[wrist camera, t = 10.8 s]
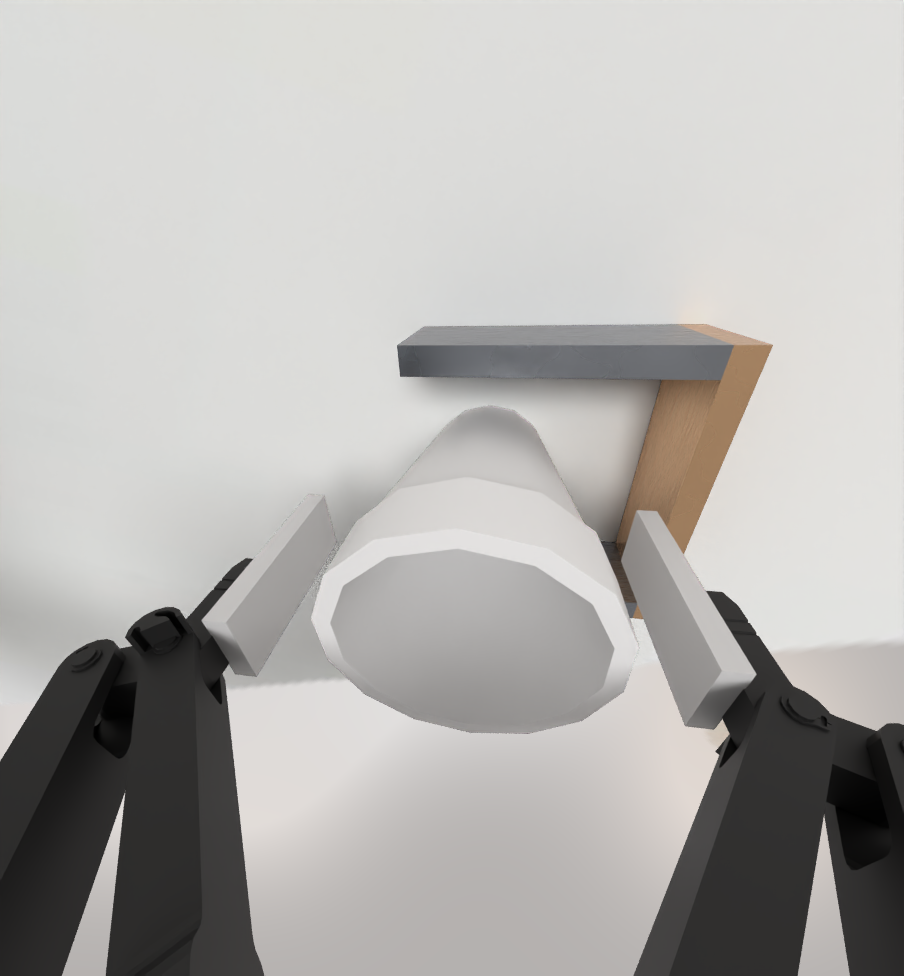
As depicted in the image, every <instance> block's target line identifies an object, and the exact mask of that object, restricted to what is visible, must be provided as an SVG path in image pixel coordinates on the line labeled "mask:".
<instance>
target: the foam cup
mask: <svg viewBox="0 0 904 976" xmlns="http://www.w3.org/2000/svg"><path fill="white" fill-rule="evenodd" d="M311 620H312V623H313V625H314V627H315V630H316V632H317V635H318V637H319V640H320V642H321V645H322V647H323V650H324V652H325V654H326V657H327V659H328V661H329V662H330V663H332V664H333V665H334V666H335V667H336V668H337V669H338V670H339V671H340V672H341V673H342V674H343V675H344V676H346V677H347V678H348V679H349V680H350V681H351V682H352V683H353V684H354V685H355V686H356V687H357V688H359V689H360V690H361V691H362V692H363V693H364V694H365V695H367V696H369V697H371V698H373V699H375V700H377V701H379V702H381V703H383V704H385V705H387V706H389V707H391V708H393V709H395V710H397V711H399V712H401V713H403V714H405V715H407V716H409V717H411V718H413V719H416V720H421V721H425V722H429V723H433V724H437V725H441V726H445V727H450V728H453V729H457V730H462V731H466V732H471V733H515V734H517V733H518V734H529V733H533V732H537V731H542V730H546V729H550V728H554V727H558V726H563V725H566V724H571V723H575V722H579V721H582V720H584V719H586V718H587V717H588V716H590V715H591V714H593V713H594V712H596V711H597V710H599V709H600V708H601V707H603V706H604V705H606V704H607V703H609V702H610V701H611V700H613V699H614V698H616V697H617V696H619V695H620V694H621V693H623V692H624V689H625V687H626V684H627V681H628V678H629V676H630V673H631V670H632V667H633V665H634V662H635V659H636V656H637V654H638V651H639V644H638V641H637V638H636V635H635V632H634V629H633V626H632V623H631V620H630V617H629V614H628V611H627V608H626V605H625V602H624V599H623V596H622V593H621V590H620V587H619V584H618V581H617V579H616V576H615V574H614V572H613V569H612V567H611V565H610V563H609V560H608V558H607V556H606V553H605V551H604V549H603V546H602V544H601V542H600V539H599V537H598V535H597V533H596V532H595V531H594V530H593V529H591V528H590V527H588V526H587V525H586V524H584V522H583V520H582V518H581V516H580V514H579V513H578V511H577V509H576V507H575V505H574V503H573V501H572V499H571V497H570V495H569V493H568V491H567V489H566V487H565V485H564V483H563V481H562V479H561V477H560V476H559V474H558V472H557V470H556V468H555V466H554V464H553V462H552V460H551V458H550V456H549V454H548V452H547V450H546V448H545V446H544V444H543V442H542V440H541V439H540V437H539V435H538V433H537V431H536V429H535V428H534V426H533V425H532V424H531V423H530V422H528V421H527V420H526V419H525V418H523V417H522V416H521V415H519V414H518V413H517V412H515V411H514V410H510V409H505V408H500V407H495V406H491V405H488V406H483V407H479V408H475V409H470V410H466V411H464V412H463V413H461V414H460V415H459V416H458V417H456V418H455V419H454V420H453V421H452V422H450V423H449V424H448V425H447V426H446V427H445V428H444V429H443V430H442V431H441V432H440V433H439V435H438V436H437V437H436V438H435V439H434V440H433V442H432V443H431V444H430V445H429V446H428V447H427V449H426V450H425V451H424V452H423V453H422V454H421V456H420V457H419V458H418V459H417V460H416V461H415V463H414V464H413V465H412V466H411V467H410V468H409V470H408V471H407V472H406V473H405V474H404V475H403V477H402V478H401V479H400V480H399V481H398V482H397V484H396V485H395V486H394V487H393V488H392V489H391V491H390V492H389V493H388V494H387V495H386V496H385V498H384V499H383V500H382V501H381V502H380V503H379V505H377V506H376V507H375V508H373V509H372V510H371V511H369V512H368V513H367V514H365V515H364V516H363V517H361V518H360V519H359V520H357V521H356V522H355V524H354V525H353V527H352V529H351V530H350V532H349V534H348V535H347V537H346V539H345V540H344V542H343V543H342V545H341V547H340V548H339V550H338V552H337V553H336V555H335V557H334V558H333V560H332V561H331V563H330V565H329V566H328V568H327V570H326V571H325V573H324V575H323V578H322V581H321V585H320V588H319V592H318V595H317V599H316V602H315V605H314V609H313V612H312V616H311Z"/></svg>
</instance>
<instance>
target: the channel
mask: <svg viewBox="0 0 904 976" xmlns="http://www.w3.org/2000/svg"><path fill="white" fill-rule="evenodd" d="M772 346H773V345H771V344H768V343H765V342H762V341H758V340H755V339H752V338H749V337H745V336H742V335H739V334H736V333H732V332H729V331H726V330H723V329H719V328H716V327H713V326H710V325H707V324H681V325H560V326H439V327H423V328H421V329H420V330H418V331H417V332H416V333H414V334H413V335H411V336H410V337H408V338H407V339H406V340H404V341H403V342H401V343H400V344H398V345H397V349H398V359H399V369H400V377H484V378H572V379H660V380H662V381H661V385H660V389H659V392H658V396H657V399H656V403H655V406H654V410H653V413H652V417H651V420H650V424H649V427H648V431H647V434H646V438H645V441H644V445H643V448H642V452H641V455H640V459H639V462H638V466H637V469H636V473H635V476H634V480H633V483H632V487H631V490H630V494H629V497H628V501H627V504H626V508H625V511H624V515H623V518H622V522H621V526H620V529H619V533H618V536H617V540H616V543H610V542H601V544H602V546H603V549H604V551H605V553H606V556H607V558H608V560H609V563H610V565H611V567H612V569H613V572H614V574H615V576H616V579H617V581H618V584H619V587H620V590H621V593H622V596H623V599H624V602H625V605H626V608H627V611H628V614H629V617H630V618H638V619H643V617H642V614H641V611H640V609H639V606H638V604H637V601H636V599H635V596H634V593H633V591H632V588H631V586H630V583H629V580H628V578H627V575H626V573H625V570H624V568H623V565H622V562H621V559H622V556H623V552H624V549H625V546H626V543H627V540H628V536H629V533H630V530H631V527H632V523H633V520H634V517H635V514H636V511H637V510H644V511H657V512H658V514H659V515H660V517H661V518H662V520H663V522H664V523H665V525H666V527H667V528H668V530H669V532H670V533H671V535H672V536H673V538H674V540H675V541H676V543H677V545H678V546H679V548H680V550H681V551H682V553H683V555H684V552H685V550H686V548H687V545H688V543H689V540H690V538H691V536H692V533H693V531H694V529H695V526H696V524H697V522H698V519H699V517H700V515H701V512H702V510H703V508H704V505H705V503H706V501H707V498H708V496H709V494H710V491H711V489H712V487H713V484H714V482H715V480H716V477H717V475H718V473H719V470H720V468H721V466H722V463H723V461H724V459H725V456H726V454H727V452H728V449H729V447H730V444H731V442H732V440H733V437H734V435H735V433H736V430H737V428H738V426H739V423H740V421H741V419H742V416H743V414H744V412H745V409H746V407H747V405H748V402H749V400H750V398H751V395H752V393H753V391H754V388H755V386H756V384H757V381H758V379H759V377H760V374H761V372H762V370H763V367H764V365H765V363H766V360H767V358H768V356H769V353H770V351H771V348H772Z"/></svg>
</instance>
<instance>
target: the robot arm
mask: <svg viewBox="0 0 904 976" xmlns="http://www.w3.org/2000/svg"><path fill="white" fill-rule="evenodd" d="M336 543H337V541H336V537H335V534H334V530H333V526H332V522H331V518H330V515H329V511H328V507H327V503H326V500H325V496H324V495H312V494H308V495H307V496H306V497H305V498H304V500H303V501H302V502H301V503H300V504H299V506H298V507H297V508H296V509H295V510H294V511H293V513H292V514H291V515H290V516H289V517H288V519H287V520H286V521H285V522H284V523H283V524H282V526H281V527H280V528H279V529H278V530H277V532H276V533H275V534H274V535H273V536H272V538H271V539H270V540H269V541H268V542H267V543H266V545H265V546H264V547H263V548H262V549H261V551H260V552H259V553H258V554H257V555H256V556H255V558H254V559H248V558H245V559H244V560H243V561H241V562H240V563H238V564H237V565H235V566H234V567H232V568H231V570H230V571H229V572H228V573H227V574H226V575H225V576H224V577H223V578H222V581H220V582H219V583H218V584H217V585H216V586H215V587H214V590H212V591H211V592H210V593H209V594H208V595H207V596H206V598H205V599H204V600H203V601H202V602H201V603H200V604H199V605H198V607H197V608H196V609H195V610H194V611H193V612H192V613H191V614H190V616H189V617H188V618H187V619H185V618H184V616H183V615H182V613H181V612H180V610H179V609H176V608H174V607H165V608H161V609H158V610H155V611H153V612H151V613H148V614H146V615H145V616H143V617H142V618H140V619H139V620H138V621H136V622H135V623H134V624H133V626H132V627H131V628H130V629H129V630H128V632H127V635H126V637H125V638H126V639H127V640H128V641H129V642H130V644H131V645H132V646H131V647H126V648H121V649H120V648H119V647H118V646H117V645H116V644H115V642H114V641H112V640H108V639H104V640H97V641H94V642H92V643H89V644H86V645H85V646H83V647H81V648H79V649H78V650H76V651H74V652H73V653H72V654H71V655H69V656H68V657H67V658H66V659H65V660H64V661H63V662H62V663H61V665H60V666H59V667H58V669H57V670H56V672H55V673H54V675H53V677H52V678H51V680H50V682H49V683H48V685H47V686H46V688H45V690H44V691H43V693H42V695H41V696H40V698H39V699H38V701H37V703H36V704H35V706H34V708H33V709H32V711H31V712H30V714H29V716H28V717H27V719H26V720H25V722H24V724H23V725H22V727H21V729H20V730H19V732H18V734H17V735H16V737H15V738H14V740H13V741H12V743H11V745H10V746H9V748H8V750H7V751H6V753H5V754H4V756H3V758H2V759H1V761H0V976H62V973H63V970H64V967H65V965H66V962H67V959H68V956H69V953H70V950H71V947H72V944H73V941H74V938H75V935H76V932H77V930H78V927H79V924H80V921H81V918H82V915H83V912H84V909H85V906H86V903H87V901H88V898H89V895H90V892H91V889H92V886H93V883H94V880H95V877H96V874H97V872H98V868H99V866H100V863H101V860H102V857H103V854H104V851H105V848H106V845H107V842H108V840H109V837H110V834H111V831H112V828H113V825H114V822H115V819H116V816H117V813H118V810H119V807H120V805H121V802H122V799H123V796H124V793H125V801H124V810H123V819H122V828H121V838H120V847H119V856H118V866H117V875H116V884H115V894H114V903H113V913H112V923H111V931H110V941H109V950H108V959H107V968H106V976H264V973H263V969H262V965H261V962H260V960H259V957H258V955H257V953H256V950H255V946H254V942H253V935H252V928H251V917H250V908H249V899H248V889H247V880H246V871H245V861H244V852H243V843H242V833H241V824H240V815H239V806H238V796H237V787H236V778H235V768H234V759H233V750H232V740H231V731H230V722H229V713H228V703H227V695H226V684H225V679H224V677H223V675H222V673H223V672H224V670H225V669H226V667H227V666H228V664H229V665H230V667H231V668H232V670H233V671H234V673H235V674H238V675H247V676H255V677H257V675H258V674H259V672H260V670H261V669H262V667H263V665H264V664H265V662H266V660H267V659H268V657H269V655H270V654H271V652H272V650H273V649H274V647H275V645H276V644H277V642H278V640H279V639H280V637H281V635H282V634H283V632H284V630H285V629H286V627H287V625H288V624H289V622H290V620H291V618H292V617H293V615H294V613H295V612H296V610H297V608H298V607H299V605H300V603H301V602H302V600H303V598H304V597H305V595H306V593H307V592H308V590H309V588H310V587H311V585H312V583H313V582H314V580H315V578H316V577H317V575H318V573H319V572H320V570H321V568H322V567H323V565H324V563H325V562H326V560H327V558H328V556H329V555H330V553H331V551H332V550H333V548H334V546H335V545H336ZM621 562H622V565H623V568H624V570H625V573H626V575H627V578H628V580H629V583H630V586H631V588H632V591H633V593H634V596H635V599H636V601H637V604H638V606H639V609H640V611H641V614H642V617H643V619H644V622H645V624H646V627H647V629H648V632H649V635H650V637H651V640H652V642H653V645H654V647H655V650H656V653H657V655H658V658H659V660H660V663H661V665H662V668H663V670H664V673H665V676H666V678H667V681H668V683H669V686H670V689H671V691H672V693H673V696H674V699H675V702H676V704H677V706H678V709H679V712H680V714H681V717H682V720H683V722H684V725H685V726H688V727H697V728H705V729H715V728H716V727H717V725H718V724H719V723H720V721H721V720H722V719H723V721H724V723H725V725H726V727H727V729H728V731H729V733H730V735H729V736H728V737H727V738H726V739H725V741H724V742H723V743H722V744H721V745H720V747H719V748H718V749H717V750H716V753H718V754H719V758H718V760H717V763H716V766H715V768H714V771H713V773H712V776H711V779H710V781H709V784H708V786H707V788H706V791H705V794H704V796H703V799H702V801H701V804H700V806H699V809H698V812H697V814H696V817H695V819H694V822H693V824H692V827H691V830H690V832H689V835H688V837H687V840H686V842H685V845H684V848H683V850H682V853H681V855H680V858H679V860H678V863H677V865H676V868H675V871H674V873H673V876H672V878H671V881H670V884H669V886H668V889H667V891H666V894H665V896H664V899H663V902H662V904H661V907H660V909H659V912H658V914H657V917H656V919H655V922H654V925H653V927H652V930H651V932H650V935H649V937H648V940H647V943H646V945H645V948H644V950H643V953H642V955H641V958H640V960H639V963H638V966H637V968H636V971H635V973H634V976H798V969H799V963H800V957H801V951H802V945H803V939H804V933H805V927H806V921H807V915H808V908H809V903H810V896H811V890H812V884H813V878H814V871H815V866H816V860H817V853H818V847H819V842H820V836H821V829H822V823H823V817H824V816H825V822H826V828H827V835H828V841H829V847H830V854H831V860H832V866H833V872H834V879H835V884H836V891H837V897H838V904H839V909H840V916H841V922H842V929H843V935H844V941H845V947H846V953H847V960H848V966H849V972H850V976H904V725H902V724H898V723H894V724H892V723H891V724H886V725H885V726H883V727H882V728H881V729H879V730H878V731H875V730H872V729H869V728H866V727H864V726H861V725H858V724H855V723H853V722H850V721H847V720H845V719H842V718H839V717H836V716H834V715H832V714H830V713H829V711H828V710H827V709H826V708H825V707H824V706H823V705H822V704H821V703H820V702H819V701H818V700H816V699H814V698H813V697H812V696H810V695H809V694H808V693H806V692H805V691H802V690H800V689H798V688H796V687H793V685H792V684H791V683H790V682H789V680H788V679H787V677H786V676H785V674H784V673H783V671H782V670H781V669H780V667H779V665H778V664H777V662H776V661H775V660H774V658H773V657H772V655H771V654H770V652H769V651H768V649H767V648H766V646H765V645H764V643H763V642H762V640H761V639H760V637H759V636H757V635H756V632H755V630H754V629H753V627H752V626H751V624H750V623H748V620H747V618H746V617H745V615H744V614H743V612H742V611H741V609H740V608H739V606H738V605H737V604H736V603H734V602H733V601H732V600H731V599H730V598H729V597H727V596H726V595H725V594H724V593H723V592H714V591H705V589H704V587H703V586H702V584H701V582H700V581H699V579H698V577H697V576H696V574H695V573H694V571H693V569H692V568H691V566H690V564H689V563H688V561H687V559H686V558H685V556H684V555H683V553H682V551H681V550H680V548H679V546H678V545H677V543H676V541H675V540H674V538H673V536H672V535H671V533H670V532H669V530H668V528H667V527H666V525H665V523H664V522H663V520H662V518H661V517H660V515H659V514H658V512H657V511H644V510H637V511H636V514H635V517H634V520H633V523H632V527H631V530H630V533H629V536H628V540H627V543H626V546H625V549H624V552H623V556H622V559H621ZM125 790H126V791H125Z"/></svg>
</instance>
